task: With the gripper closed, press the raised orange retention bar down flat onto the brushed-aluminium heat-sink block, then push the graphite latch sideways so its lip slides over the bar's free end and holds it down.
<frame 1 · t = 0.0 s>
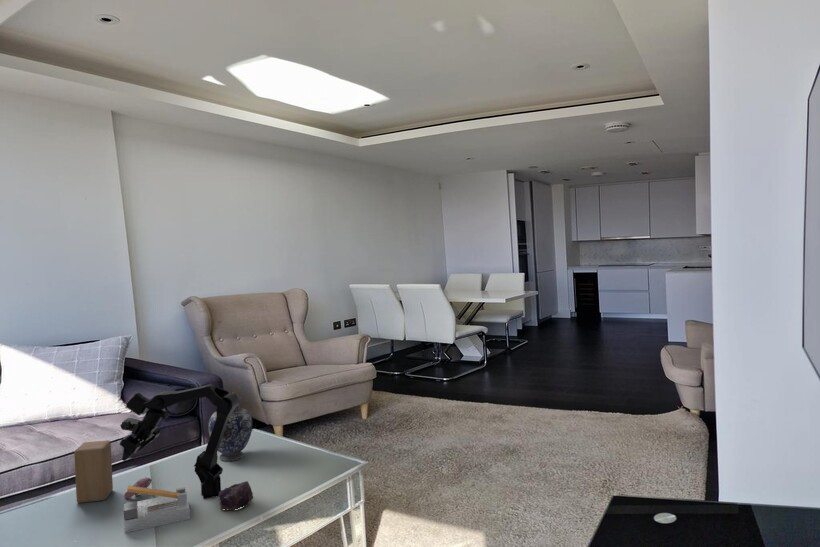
hand: (130, 455, 212), 15 cm above the table, tool tilted 35°, fingers open, 9 cm apart
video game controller: (139, 494, 213), on the table
decorative vase: (231, 457, 249), on the table
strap: (156, 492, 195), point 8 cm above the table, hinge at 20.0°
heatsink block: (157, 517, 194), on the table
rock: (237, 508, 199), on the table
block: (95, 497, 211), on the table
latch: (130, 510, 187), point 6 cm above the table, slide at 0.0 cm
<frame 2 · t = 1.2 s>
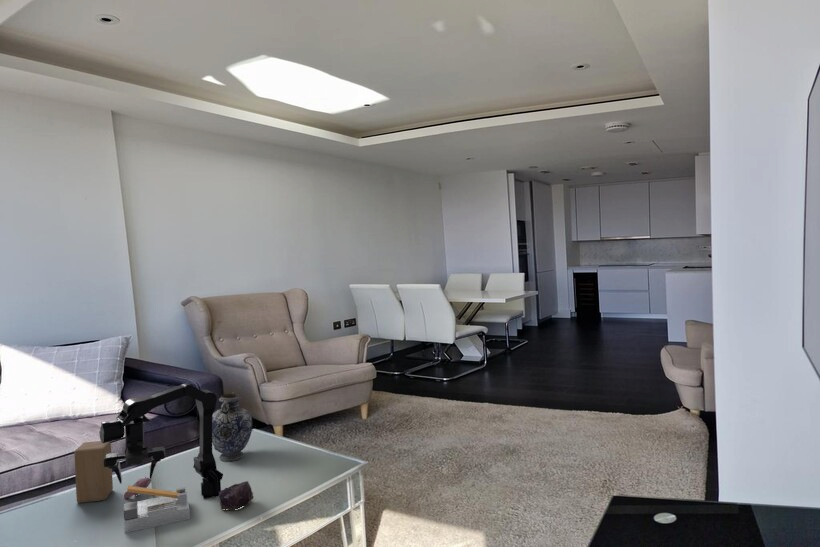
hand: (135, 480, 193), 13 cm above the table, tool pointing down, fingers open, 9 cm apart
nothing on the table moved.
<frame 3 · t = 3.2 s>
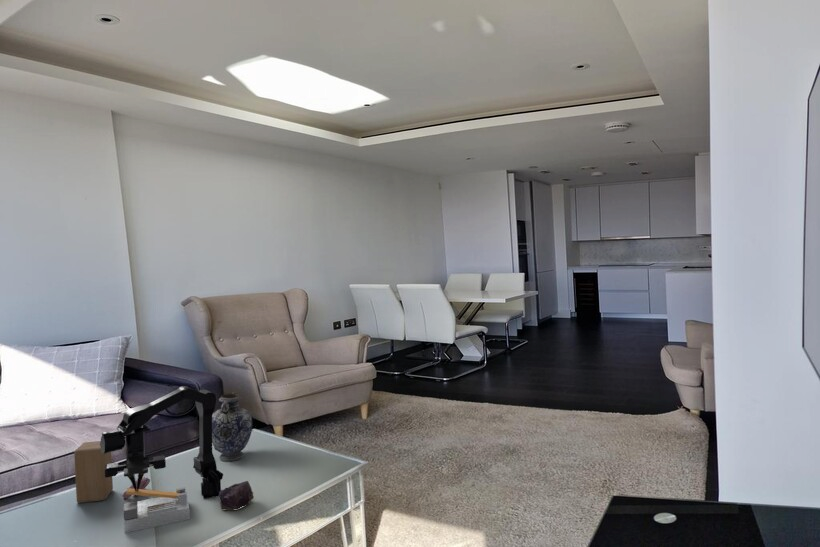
hand: (136, 490, 193), 10 cm above the table, tool pointing down, fingers closed
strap: (155, 493, 195), point 8 cm above the table, hinge at 17.1°, touching gripper
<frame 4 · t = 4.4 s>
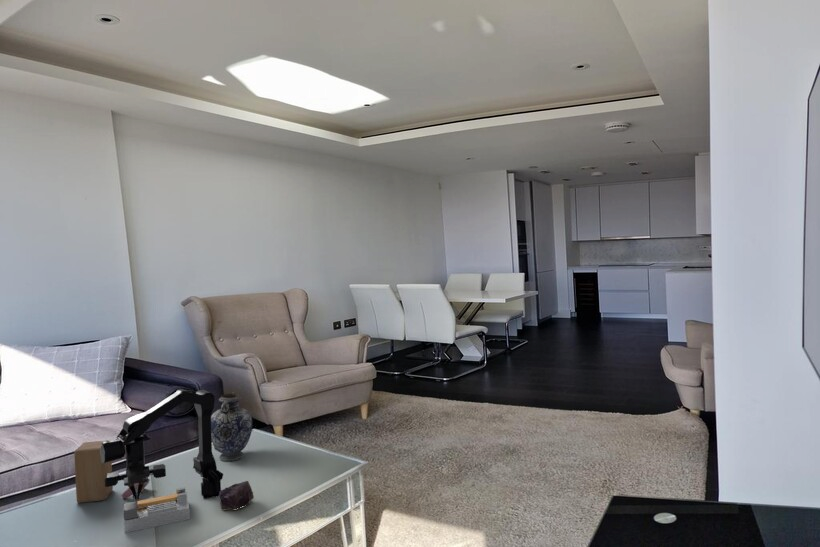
hand: (137, 499, 193), 7 cm above the table, tool pointing down, fingers closed
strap: (154, 501, 195), point 5 cm above the table, hinge at 0.1°
everything else where it was.
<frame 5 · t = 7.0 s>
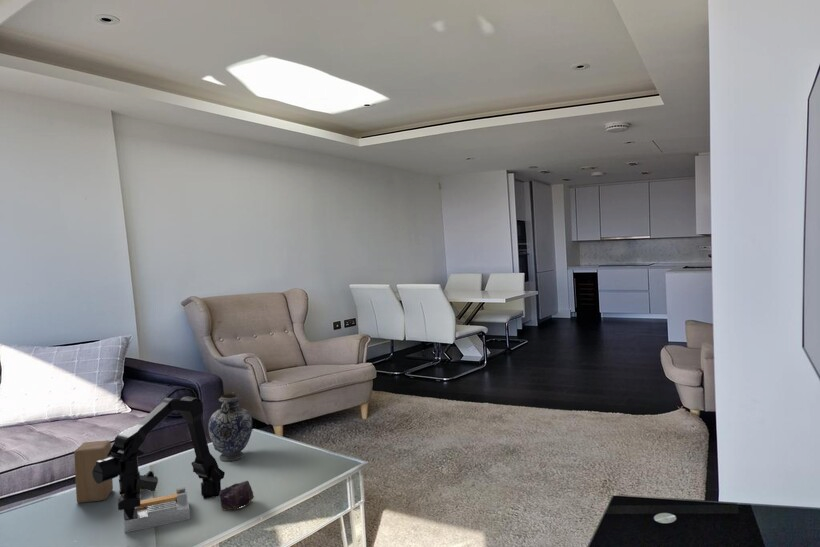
hand: (131, 518, 183), 5 cm above the table, tool pointing down, fingers closed
latch: (130, 510, 187), point 6 cm above the table, slide at 0.0 cm, touching gripper
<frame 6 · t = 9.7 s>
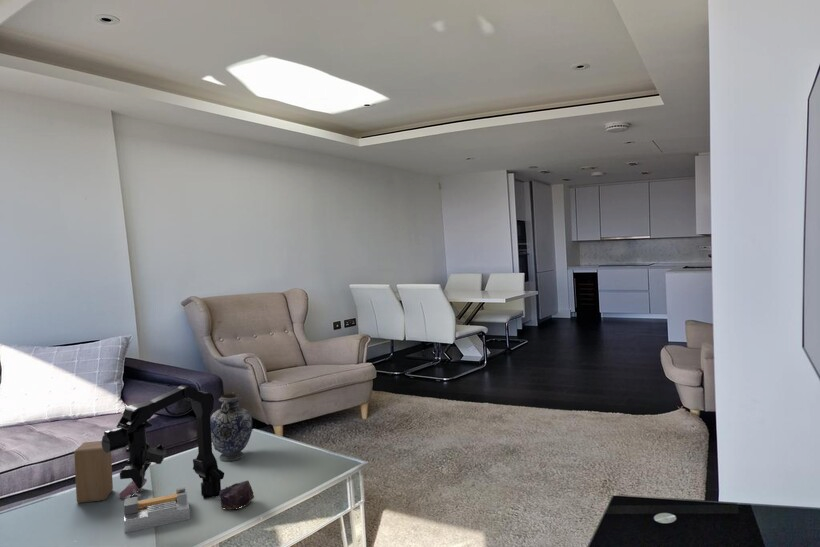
hand: (140, 487, 189), 12 cm above the table, tool pointing down, fingers closed
latch: (131, 505, 190), point 6 cm above the table, slide at 3.9 cm
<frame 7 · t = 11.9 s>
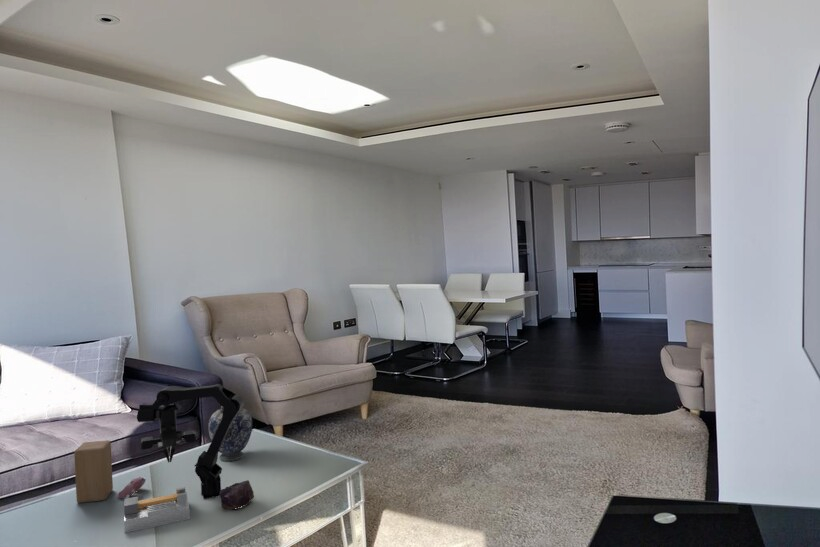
hand: (169, 462, 210), 13 cm above the table, tool pointing down, fingers closed
at the end: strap at +0° (first picture: +20°); latch slide at 3.9 cm; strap touching nothing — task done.
